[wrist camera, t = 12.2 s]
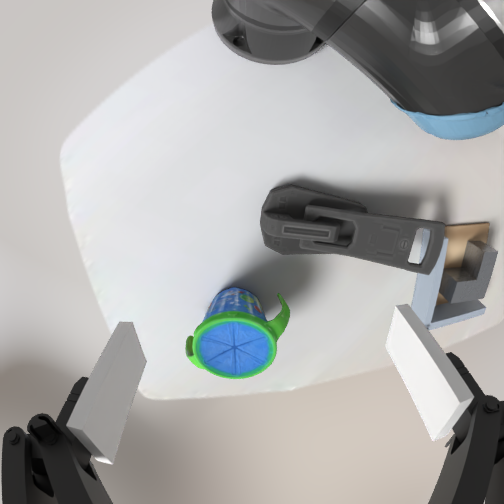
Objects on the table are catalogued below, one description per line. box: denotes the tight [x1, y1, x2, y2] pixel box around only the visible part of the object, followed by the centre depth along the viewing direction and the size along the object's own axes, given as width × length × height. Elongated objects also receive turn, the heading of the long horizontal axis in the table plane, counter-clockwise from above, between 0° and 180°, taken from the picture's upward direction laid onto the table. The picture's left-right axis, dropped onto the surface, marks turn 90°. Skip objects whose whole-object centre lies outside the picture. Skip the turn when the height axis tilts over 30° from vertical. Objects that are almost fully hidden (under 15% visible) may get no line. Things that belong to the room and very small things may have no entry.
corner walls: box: [411, 228, 486, 330], centre depth 40 cm, size 16×16×5 cm
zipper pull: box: [260, 185, 445, 275], centre depth 36 cm, size 9×7×25 cm
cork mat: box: [435, 223, 490, 306], centre depth 42 cm, size 15×14×1 cm
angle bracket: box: [439, 241, 498, 304], centre depth 39 cm, size 9×9×5 cm
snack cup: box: [186, 287, 290, 379], centre depth 39 cm, size 16×10×10 cm
